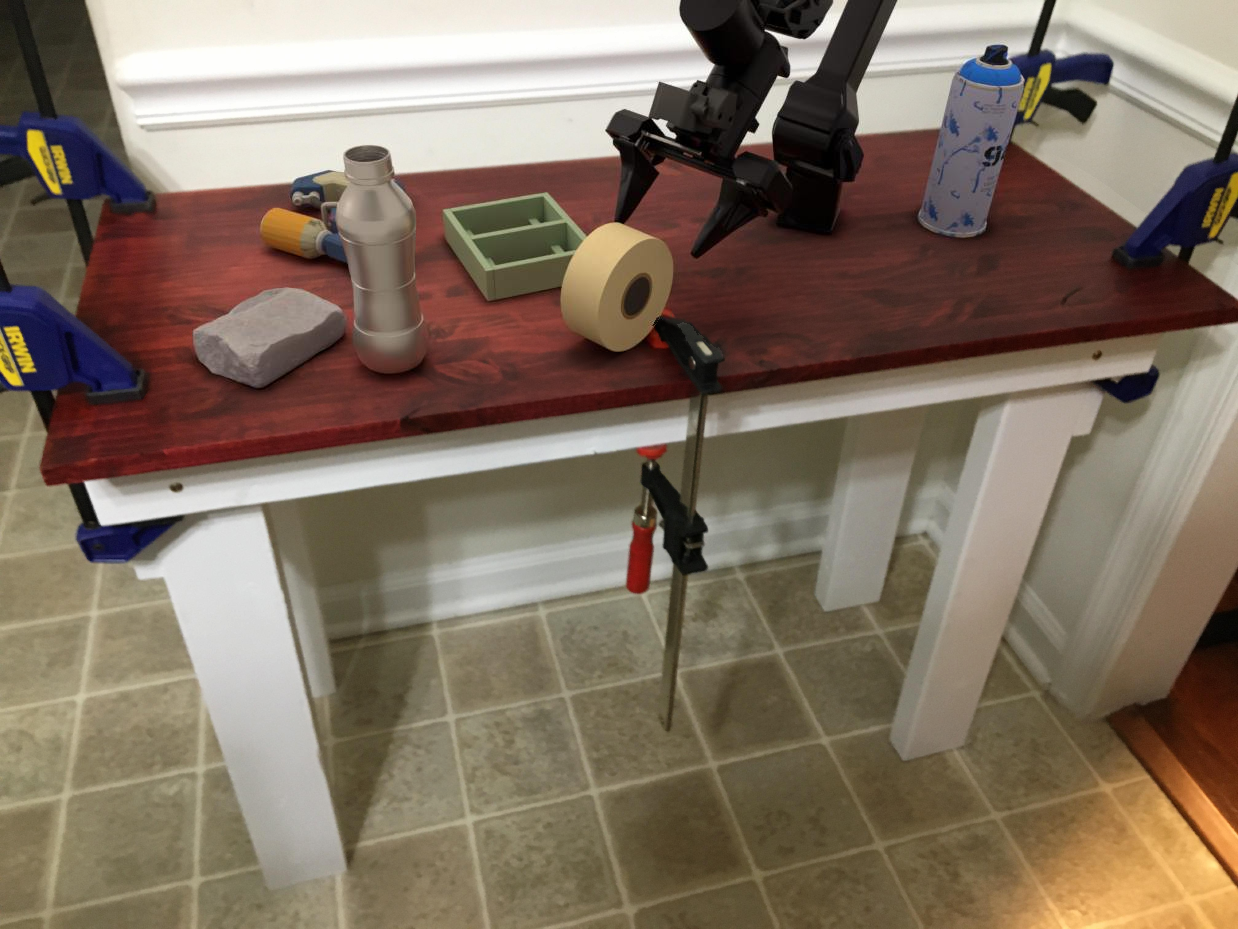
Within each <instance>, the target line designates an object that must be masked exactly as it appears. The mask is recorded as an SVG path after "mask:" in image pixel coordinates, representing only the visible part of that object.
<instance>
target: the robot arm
mask: <svg viewBox="0 0 1238 929" xmlns="http://www.w3.org/2000/svg"><path fill="white" fill-rule="evenodd" d="M897 3H898V0H847V1H846V3H845V4H844V7H843V10H842V12H841V15H840V17H839V19H838V21H837V23H836V26H835V27H834V31H833V33H832V35H831V38H830V39H829V42H828V44H827V47H826V49H825V51H824V53H823V56H822V58H821V61H820V63H819V65H818V67H817V69H816V71H815V73H814V74H812V75H811V76H810V77H809V78H808V79H806V80H805V81H800V80H797V79H796V80H795V81H794V82H792V84H791V85H790V86H789V87H788V91H787V94H786V97H785V99H784V101H783V104H782V106H781V107H780V109H779V110H778V112H777V114H776V117H775V119H774V122H773V124H772V128H771V141H772V153H773V159H771V158H768V157H765V156H763V155H760V154H757V153H753V152H750V151H747V150H744V151H743V152H741V153H739V154H737V152H738V150H739V149H740V147H741V146H742V143H743V141H744V140H745V137H746V136H747V134H748V133H751V134H754V135H755V134H756V132H757V131H758V128H759V127H760V122H759V120H758V119H757V116H758V114H759V112H760V110H761V108H762V106H763V104H764V102H765V101H766V99H767V97H768V95H769V93H770V91H771V89H772V88H773V85H774V84H775V82H776V80H777V79H778V77H780V78H783V79H788V78H789V77H790V76H791V69H792V68H791V62H790V61H789V47H787V46H785V45H781V44H780V41H779V40H778V39H777V37H776V36H775V35H774V34H772V33H775V34H779V35H781V36H786V37H789V38H794V39H797V40H806V39H808V38H810V37H811V36H812V35H813V34H814V33H815V32H816V31H817V29H818V28H819V27H820V26H821V25H822V24H823V22H824V21H825V18H826V16H827V14H828V12H829V11H830V9H831V8H832V6H833V4H834V0H679V8H678V10H679V11H678V13H679V16H680V19H681V21H682V23H683V25H684V26H685V28H686V29H687V31H688V32H689V34H690V35H691V37H692V39H693V40H694V41H695V43H696V44H697V46H698V47H699V49H700V51H701V52H702V54H703V55H704V57H705V58H706V59H707V60H708V61H709V63H711V64H713V67H712V69H711V71H710V72H709V74H708V76H707V78H706V80H705V81H703V80H699V79H696V81H695V82H693V83H692V85H691V87H690V89H689V90H687V89H684V88H681V87H678V86H675V85H672V84H669V83H665V82H662V81H658V83H657V87H656V89H655V93H654V96H653V100H652V103H651V106H650V109H649V113H648V116H647V115H644V114H641V113H638V112H635V111H633V110H630V109H627V108H623V109H620V110H618V111H616V112H614V114H613V115H612V116H611V118H610V120H609V122H608V124H607V126H606V127H605V129H604V132H605V133H606V134H607V136H609V137H610V138H611V139H612V146H613V147H614V148H615V149H616V150H617V151H618V152H619V156H620V162H621V166H620V168H621V169H620V181H619V187H618V194H617V199H616V206H615V213H614V220H613V223H621V224H624V225H625V224H626V223H627V221H628V220H629V219H630V218H631V216H632V215H633V214H634V212H635V211H636V209H637V208H638V206H639V205H640V203H641V202H642V200H643V199H644V197H645V196H646V194H647V193H648V191H649V190H650V189H651V187H652V185H653V184H654V183H655V181H656V179H657V178H658V177H659V175H660V172H659V170H658V169H657V168H656V166H658V165H660V164H662V163H664V162H665V160H666V159H667V160H670V161H673V162H675V163H679V164H681V165H684V166H686V167H689V168H692V169H694V170H698V171H700V172H702V173H705V174H709V175H711V176H713V177H717V178H719V179H722V181H721V186H720V191H719V195H718V196H719V197H718V199H717V202H716V203H715V205H714V207H713V209H712V211H711V212H710V214H709V215H708V218H707V219H706V221H705V223H704V224H703V226H702V228H701V230H700V231H699V234H698V235H697V237H696V239H695V241H694V244H693V246H692V248H691V251H690V256H691V257H693V259H695V260H696V259H700V258H701V257H702V256H704V255H705V254H706V253H707V252H709V251H710V250H712V249H713V248H714V247H716V246H717V245H718V244H720V242H722V241H723V240H724V239H726V238H727V237H728V236H730V235H731V234H732V233H734V232H736V231H737V230H738V229H740V228H742V227H744V226H745V225H747V224H748V223H751V221H753V220H755V219H756V218H758V217H759V218H760V217H761V218H763V219H766V218H767V217H768V216H769V215H770V212H769V211H771V212H773V213H775V214H777V217H776V218H775V225H777V226H781V227H786V228H792V229H797V230H803V231H808V232H813V233H818V234H824V235H830V234H832V233H833V230H834V227H835V226H836V222H837V220H838V218H839V215H840V212H841V208H840V207H839V206H840V201H841V196H842V189H843V185H844V184H843V183H853V182H855V180H856V176H857V175H858V174H859V172H860V169H861V167H862V165H863V164H862V163H863V160H864V157H865V153H864V151H863V149H862V147H861V145H860V143H859V141H858V139H857V137H856V132H857V130H858V127H859V124H860V115H859V105H858V97H857V96H858V95H857V93H858V90H859V87H860V85H861V83H862V81H863V79H864V77H865V75H866V72H867V70H868V68H869V65H870V63H871V60H872V59H873V57H874V54H875V52H876V50H877V48H878V45H879V42H880V41H881V39H882V36H883V34H884V32H885V29H886V28H887V26H888V23H889V21H890V18H891V16H892V14H893V12H894V9H895V7H896V5H897ZM654 120H655V121H658V120H663V121H666V124H665V127H666V128H667V130H668V131H669V132H670V133H672V134H674V135H675V138H673V137H672V136H671V137H670V136H667V135H666V134H665V133H664V131H663V130H662V129H661V128H660V126H658V124H657V123H656V122H655V121H654ZM736 154H737V155H736ZM781 166H782V167H786V170H785V171H784V169H782V167H781Z"/></svg>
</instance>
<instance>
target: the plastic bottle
mask: <svg viewBox="0 0 1238 929" xmlns="http://www.w3.org/2000/svg"><path fill="white" fill-rule="evenodd" d="M342 160H343V164H344V170H343V171H344V172H343V173H345V178H346V179H347V180H348V181H349V182H350V183H349V185H348V186H347V188H346V189H345V191H344V192H343V194H342V196H341V198H340V200H339V203H338V205H337V209H336V215H335V220H336V224H337V229H338V231H339V235H340V238H341V241H342V245H343V248H344V251H345V254H346V257H347V262H348V264H347V265H348V266H347V268H348V271H349V276H350V281H351V285H352V294H353V313H354V315H353V316H354V319H353V326H352V340H353V341H352V344H353V347H354V349H355V352H356V355H357V358H358V359H359V361H360V362H361V363H362V364H363V365H364V366H365V367H367V368H368V369H369V370H371V371H373V372H377V373H379V374H389V375H390V374H400V373H404V372H407V371H410V370H412V369H415V368H416V367H418V366H419V365H420V364H421V363H422V361H423V359H424V358H425V357H426V355H427V354H428V350H429V349H428V348H429V338H430V336H429V331H428V327H427V324H426V319H425V317H424V315H423V313H422V307H421V303H420V298H419V292H418V287H417V282H416V280H417V279H416V262H415V261H416V260H415V259H416V258H415V251H416V234H417V211H416V209H415V207H414V206H415V205H414V204H413V202H412V199H411V197H409V196H408V194H407V193H405V192H406V191H405V192H404V191H403V190H402V189H401V188H400V187H399V186H398V185H397V184H396V183H395V182H394V181H393V180H392V179H394V177H395V175H396V174H395V167H394V165H393V159H392V153H391V151H390V150H389V149H388V148H387V147H385V146H382V145H376V144H363V145H355V146H353V147H350V148H348V149H346V150H345V151H344V152H343V155H342Z"/></svg>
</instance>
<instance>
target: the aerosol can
mask: <svg viewBox="0 0 1238 929" xmlns="http://www.w3.org/2000/svg"><path fill="white" fill-rule="evenodd" d="M1008 52H1009V47H1008V46H1007V45H1005V44H990V45H987V46H986V47H985V50H984V53H983V54H982V55H978V56H977V57H975V58H971V59H969V60H967V61H966V62H965V63H964V64H962V66H960V67H958V68H957V69H956V70H955V73H954V75H953V77H952V80H951V82H950V83H951V84H950V88H949V92H948V96H947V100H946V105H945V109H944V113H943V117H942V121H941V126H940V129H939V134H938V138H937V143H936V147H935V150H934V155H933V159H932V162H931V163H932V164H931V167H930V171H929V176H928V179H927V184H926V188H925V193H924V197H923V201H922V205H921V208H920V209H919V212H918V214H917V220H918V223H919V224H920V225H921V226H922V227H924V228H925V229H927V230H928V231H930V232H933V233H935V234H937V235H942V236H945V237H950V238H962V239H963V238H973V237H976V236H979V235H981V234H983V233H984V232H986V228H987V224H988V222H987V219H988V214H989V212H990V209H991V208H990V207H991V204H992V201H993V197H994V194H995V190H996V187H997V184H998V180H999V176H1000V174H1001V169H1002V166H1003V164H1004V160H1005V155H1006V152H1007V149H1008V146H1009V143H1010V142H1009V141H1010V139H1011V134H1012V131H1013V128H1014V125H1015V122H1016V117H1017V114H1018V111H1019V106H1020V103H1021V100H1022V96H1023V93H1024V89H1025V78H1024V76H1023V74H1022V73H1021V71H1020V69H1019V67H1018V66H1017V65H1016V64H1014V63H1013V61H1012V60H1011V59H1009V58H1008Z"/></svg>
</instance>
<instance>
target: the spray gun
mask: <svg viewBox="0 0 1238 929" xmlns="http://www.w3.org/2000/svg"><path fill="white" fill-rule="evenodd" d="M392 180H393V181H394V182H395V183H396V184H397V185H398V186H399V187H400V188H401V189H402V190H403V191H404V192H405V193H406V188H405V185H404V184H402V183H401V182H400V181H399V180H396V179H395V178H392ZM349 183H350V182H349V181H348V180H347V179H346V178H345V173H344V172H343V171H338V170H337V171H336V170H332V169H327V170H322V171H319V172H315V173H311V174H308V175H303V176H299V177H297V178H295V179H294V180H293V182H292V185H291V189H290V192H289V197H290V200H291V202H292V204H294V205H296V206H298V207H301V208H302V207H313V208H315V209H317V210H320V212H321V218H322V220H321V219H318V218H316V217H313V216H308V215H305V214H302V213H298V212H295V211H291V210H288V209H284V208H281V207H273V208H271V209H270V210H268V211H267V212H266V213H265V214H264V216H263V217H262V220H261V222H260V229H259V230H260V235H261V238H262V241H263V243H264V244H265V245H266V246H268V247H270V248H273V249H276V250H279V251H283V252H286V253H289V254H293V255H295V256H299V257H302V258H304V259H309V260H312V259H317V258H318V257H321V256H323V255H324V256H328V257H330V258H331V259H335V260H336V261H340V262H343V263H345V264H347V265H348V262H347V257H346V254H345V251H344V248H343V245H342V241H341V238H340V235H339V231H338V229H337V224H336V220H335V215H336V209H337V205H338V203H339V200H340V198H341V196H342V194H343V192H344V191H345V189H346V188H347V186H348V185H349ZM406 194H407V193H406ZM328 213H330V215H328ZM328 228H329V229H330V230H331V231H330V230H329V229H328Z"/></svg>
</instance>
